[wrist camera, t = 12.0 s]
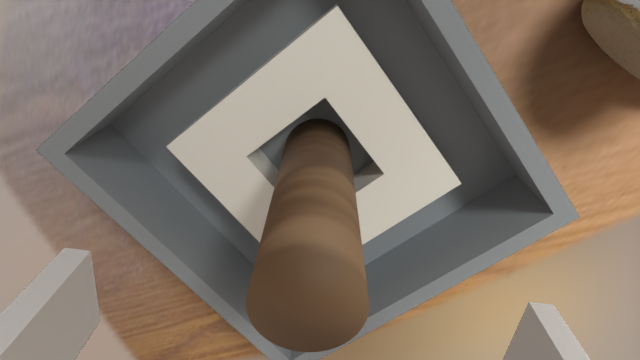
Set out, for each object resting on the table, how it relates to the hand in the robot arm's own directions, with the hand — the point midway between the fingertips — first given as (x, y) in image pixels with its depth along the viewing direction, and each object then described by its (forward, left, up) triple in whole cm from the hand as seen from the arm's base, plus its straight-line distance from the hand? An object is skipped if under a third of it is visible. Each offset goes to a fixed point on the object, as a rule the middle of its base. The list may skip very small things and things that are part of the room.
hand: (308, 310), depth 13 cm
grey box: (0, 0, -16) cm, 16 cm away
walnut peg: (0, 0, -15) cm, 15 cm away
